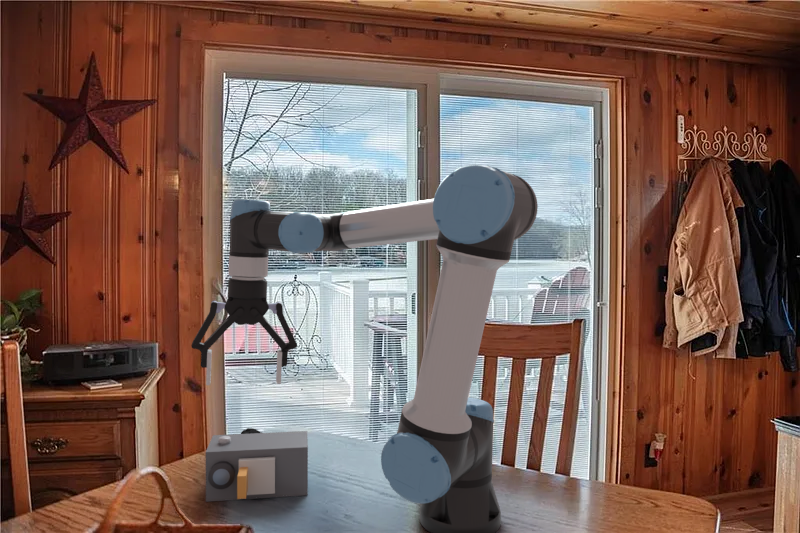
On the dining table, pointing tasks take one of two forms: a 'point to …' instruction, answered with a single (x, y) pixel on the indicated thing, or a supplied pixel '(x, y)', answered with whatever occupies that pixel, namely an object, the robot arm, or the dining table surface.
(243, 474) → the door
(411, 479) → the robot arm
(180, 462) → the dining table surface
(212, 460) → the housing
